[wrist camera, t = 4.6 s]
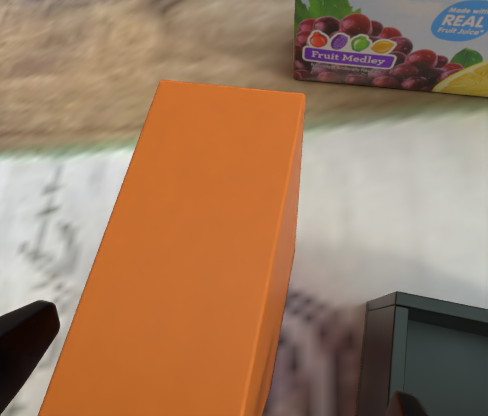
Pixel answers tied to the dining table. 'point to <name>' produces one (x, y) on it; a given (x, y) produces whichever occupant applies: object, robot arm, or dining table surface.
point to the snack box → (394, 44)
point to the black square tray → (424, 355)
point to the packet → (190, 262)
